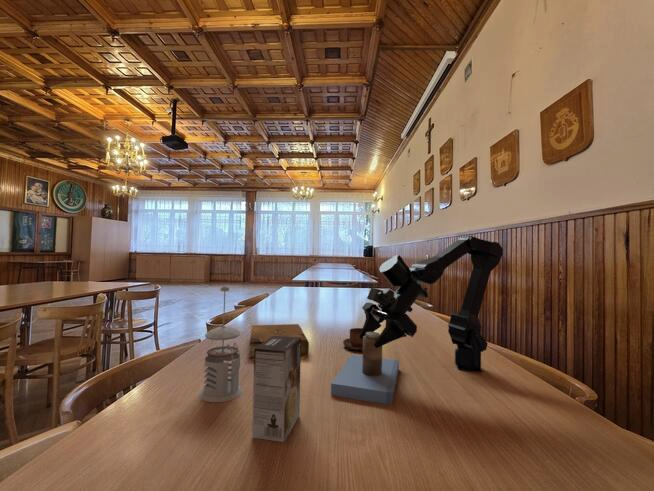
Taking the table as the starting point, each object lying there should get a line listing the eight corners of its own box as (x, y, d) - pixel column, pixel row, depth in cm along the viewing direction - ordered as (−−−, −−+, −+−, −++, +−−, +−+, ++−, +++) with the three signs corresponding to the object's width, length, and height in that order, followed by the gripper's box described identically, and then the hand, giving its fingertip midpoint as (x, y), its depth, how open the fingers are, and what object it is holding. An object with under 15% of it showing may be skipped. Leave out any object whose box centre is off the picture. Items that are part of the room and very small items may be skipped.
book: (398, 370, 88) (398, 359, 88) (391, 406, 66) (391, 392, 67) (351, 364, 92) (351, 354, 92) (330, 396, 71) (331, 383, 71)
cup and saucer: (344, 342, 115) (344, 325, 115) (376, 344, 113) (376, 327, 113) (341, 351, 103) (341, 333, 103) (376, 354, 101) (377, 335, 101)
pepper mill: (385, 372, 78) (386, 334, 78) (374, 378, 74) (374, 337, 75) (370, 367, 82) (370, 330, 82) (358, 372, 78) (359, 333, 78)
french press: (231, 379, 78) (234, 283, 79) (254, 395, 70) (257, 287, 70) (192, 391, 71) (196, 285, 72) (213, 410, 63) (217, 290, 63)
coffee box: (270, 412, 62) (272, 334, 63) (300, 416, 61) (302, 336, 62) (250, 438, 53) (253, 347, 54) (284, 443, 52) (287, 350, 53)
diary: (308, 357, 97) (308, 339, 98) (249, 360, 93) (249, 341, 94) (299, 338, 120) (300, 323, 120) (251, 339, 116) (252, 324, 116)
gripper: (368, 275, 89) (333, 314, 84) (407, 280, 72) (366, 330, 67) (390, 300, 92) (358, 340, 87) (433, 312, 74) (395, 362, 70)
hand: (367, 342), depth 78 cm, fingers open, 7 cm apart
